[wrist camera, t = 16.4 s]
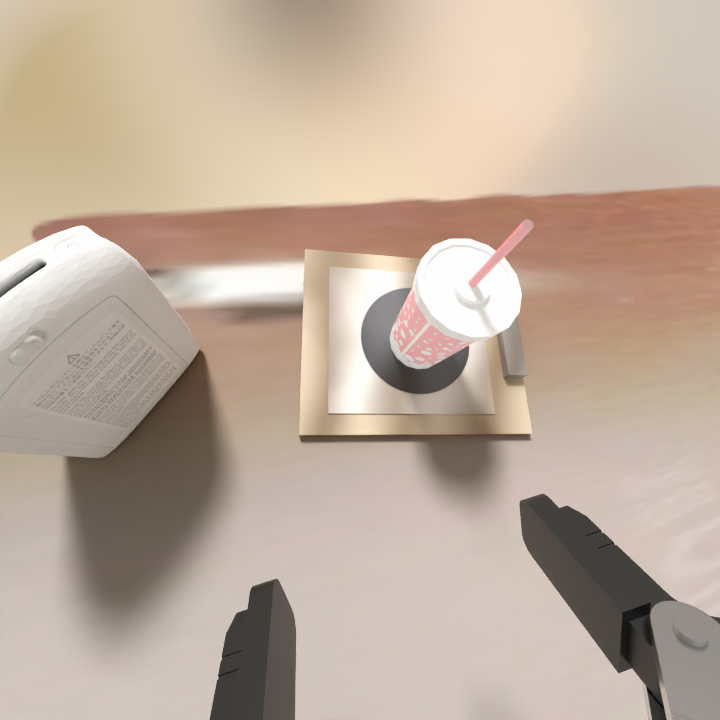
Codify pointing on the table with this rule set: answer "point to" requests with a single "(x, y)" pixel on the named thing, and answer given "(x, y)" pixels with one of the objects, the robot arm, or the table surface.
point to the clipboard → (395, 360)
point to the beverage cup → (457, 300)
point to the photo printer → (82, 346)
